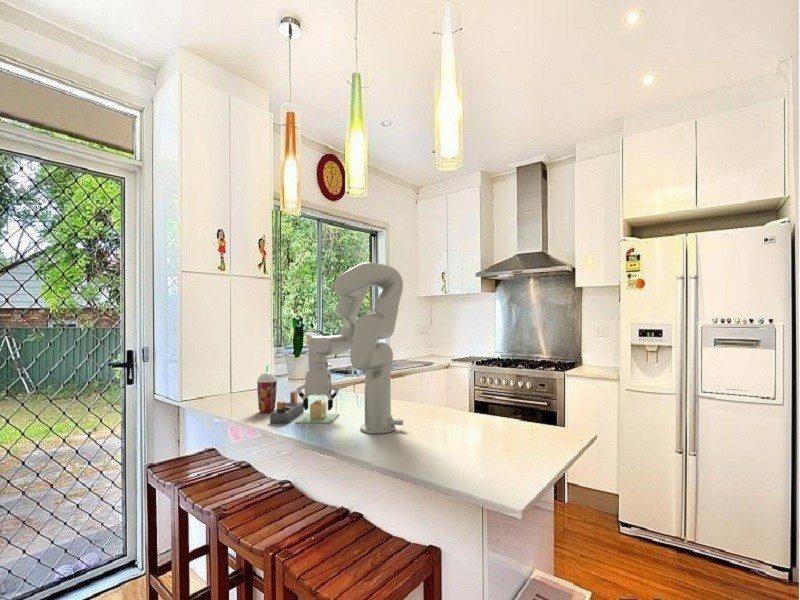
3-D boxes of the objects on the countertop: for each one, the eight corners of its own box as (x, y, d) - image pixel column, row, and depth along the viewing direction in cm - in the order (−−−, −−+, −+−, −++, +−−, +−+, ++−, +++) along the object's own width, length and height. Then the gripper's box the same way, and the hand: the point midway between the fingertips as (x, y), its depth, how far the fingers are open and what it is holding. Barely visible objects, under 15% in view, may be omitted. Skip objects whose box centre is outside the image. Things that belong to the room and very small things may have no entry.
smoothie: (281, 411, 178) (281, 365, 179) (265, 415, 171) (265, 367, 172) (268, 409, 182) (268, 364, 183) (252, 412, 175) (252, 366, 176)
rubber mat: (339, 415, 169) (339, 413, 169) (331, 424, 155) (331, 422, 155) (306, 415, 170) (306, 413, 170) (295, 423, 156) (295, 422, 156)
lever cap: (325, 415, 166) (325, 398, 166) (321, 420, 159) (321, 402, 159) (315, 415, 166) (315, 398, 166) (310, 419, 159) (310, 402, 160)
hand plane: (303, 411, 176) (303, 390, 177) (287, 423, 156) (287, 400, 157) (287, 411, 177) (287, 390, 177) (269, 423, 157) (270, 399, 157)
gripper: (341, 365, 167) (341, 407, 166) (299, 365, 168) (299, 407, 167) (337, 367, 159) (337, 411, 158) (293, 367, 160) (293, 411, 160)
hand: (318, 409), depth 163 cm, fingers open, 9 cm apart
